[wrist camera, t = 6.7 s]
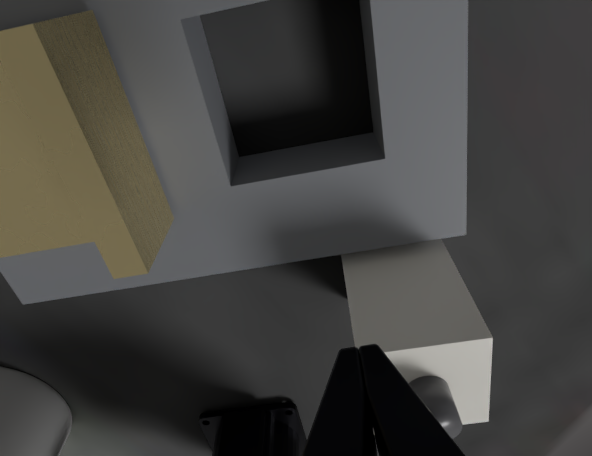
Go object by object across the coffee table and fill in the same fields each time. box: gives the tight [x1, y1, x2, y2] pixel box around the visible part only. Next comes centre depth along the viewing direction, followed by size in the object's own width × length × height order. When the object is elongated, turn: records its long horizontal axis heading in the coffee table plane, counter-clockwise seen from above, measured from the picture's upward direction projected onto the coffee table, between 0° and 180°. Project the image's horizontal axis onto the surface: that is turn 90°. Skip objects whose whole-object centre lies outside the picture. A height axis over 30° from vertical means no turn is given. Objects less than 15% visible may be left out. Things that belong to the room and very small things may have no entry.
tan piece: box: [0, 10, 174, 279], centre depth 14 cm, size 8×8×4 cm
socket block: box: [0, 0, 468, 305], centre depth 17 cm, size 14×20×3 cm
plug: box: [341, 239, 493, 439], centre depth 19 cm, size 4×4×10 cm
